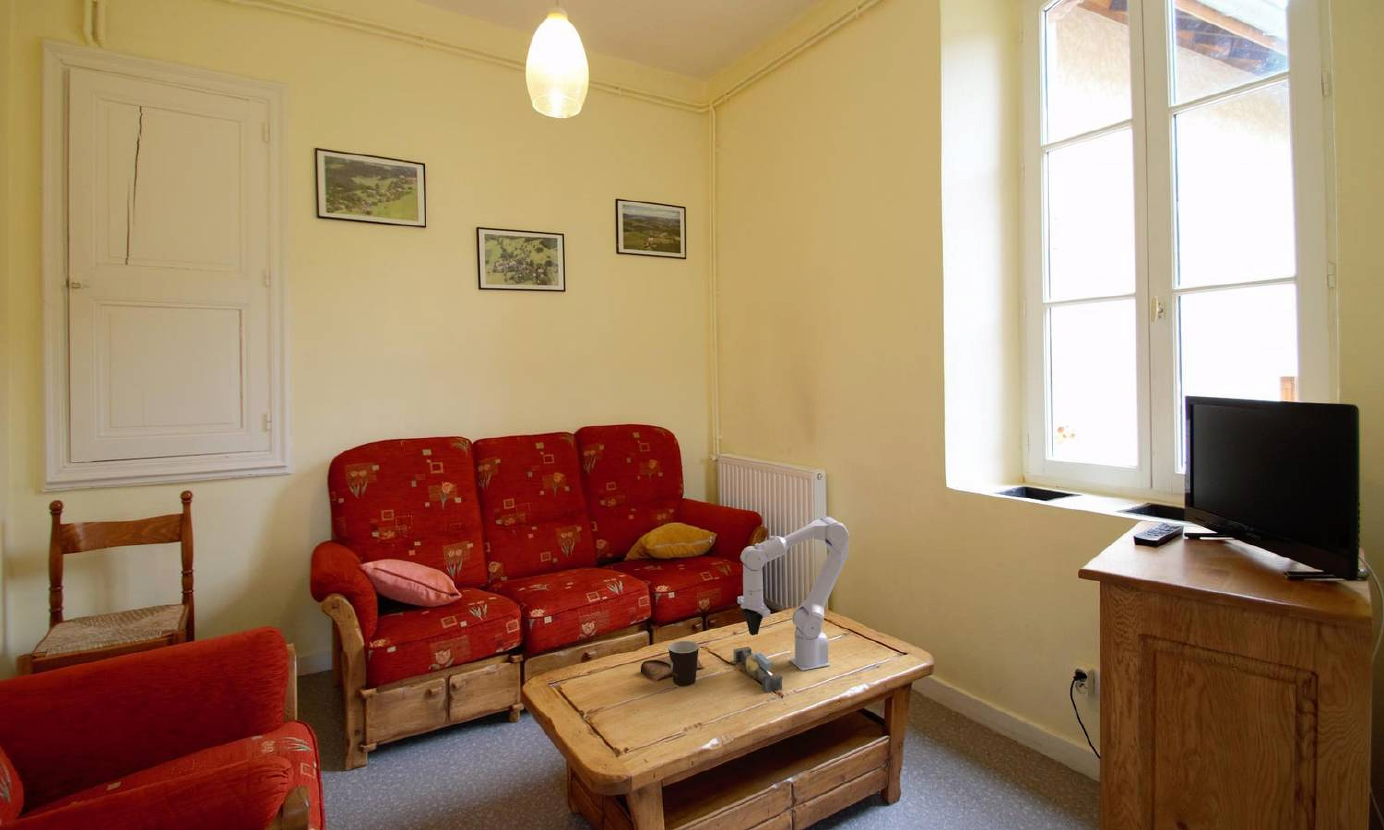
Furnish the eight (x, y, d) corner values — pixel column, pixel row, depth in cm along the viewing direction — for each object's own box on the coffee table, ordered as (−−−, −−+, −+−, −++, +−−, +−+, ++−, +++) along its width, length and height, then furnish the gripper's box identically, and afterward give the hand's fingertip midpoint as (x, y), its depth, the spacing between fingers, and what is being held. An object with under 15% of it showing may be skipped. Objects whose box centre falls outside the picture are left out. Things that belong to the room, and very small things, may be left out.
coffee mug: (696, 689, 185) (695, 654, 184) (665, 687, 186) (665, 652, 186) (703, 671, 196) (703, 637, 196) (675, 669, 198) (674, 635, 197)
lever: (749, 656, 194) (749, 650, 194) (759, 655, 195) (759, 649, 195) (763, 670, 185) (763, 664, 185) (774, 668, 186) (773, 662, 186)
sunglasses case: (654, 683, 189) (647, 659, 191) (644, 687, 194) (638, 663, 197) (707, 667, 198) (701, 645, 201) (696, 672, 204) (690, 650, 206)
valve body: (732, 661, 203) (731, 646, 202) (750, 658, 205) (750, 643, 204) (763, 693, 182) (763, 677, 182) (783, 689, 184) (783, 673, 184)
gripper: (728, 584, 200) (729, 628, 201) (755, 597, 188) (755, 645, 188) (748, 580, 204) (749, 624, 204) (776, 593, 191) (776, 640, 192)
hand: (753, 634), depth 197 cm, fingers closed
